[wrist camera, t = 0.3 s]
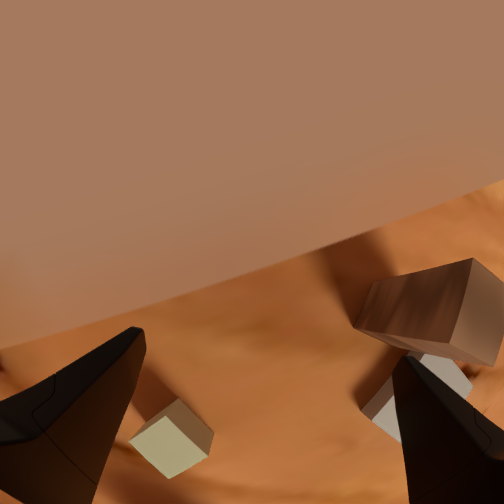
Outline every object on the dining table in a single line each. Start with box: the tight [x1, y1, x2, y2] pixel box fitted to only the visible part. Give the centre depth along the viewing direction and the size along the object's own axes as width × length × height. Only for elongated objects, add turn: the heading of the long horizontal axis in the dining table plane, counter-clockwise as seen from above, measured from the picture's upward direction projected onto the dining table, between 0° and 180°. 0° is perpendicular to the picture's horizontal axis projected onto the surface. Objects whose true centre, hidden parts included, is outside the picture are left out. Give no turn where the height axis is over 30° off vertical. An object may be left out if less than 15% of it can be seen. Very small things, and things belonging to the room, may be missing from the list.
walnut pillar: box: [354, 258, 504, 367], centre depth 17 cm, size 4×4×13 cm
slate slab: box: [361, 350, 473, 444], centre depth 20 cm, size 9×9×3 cm
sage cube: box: [129, 398, 214, 479], centre depth 19 cm, size 4×4×4 cm
